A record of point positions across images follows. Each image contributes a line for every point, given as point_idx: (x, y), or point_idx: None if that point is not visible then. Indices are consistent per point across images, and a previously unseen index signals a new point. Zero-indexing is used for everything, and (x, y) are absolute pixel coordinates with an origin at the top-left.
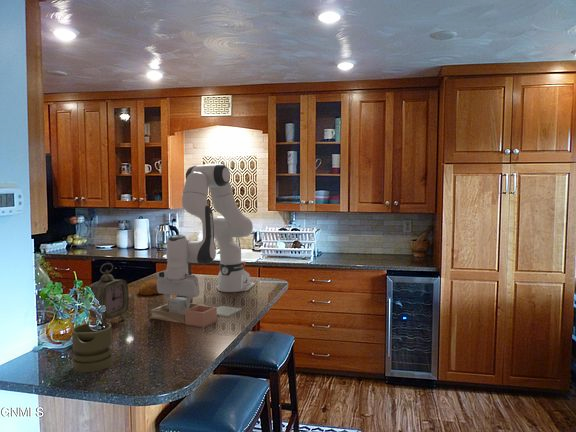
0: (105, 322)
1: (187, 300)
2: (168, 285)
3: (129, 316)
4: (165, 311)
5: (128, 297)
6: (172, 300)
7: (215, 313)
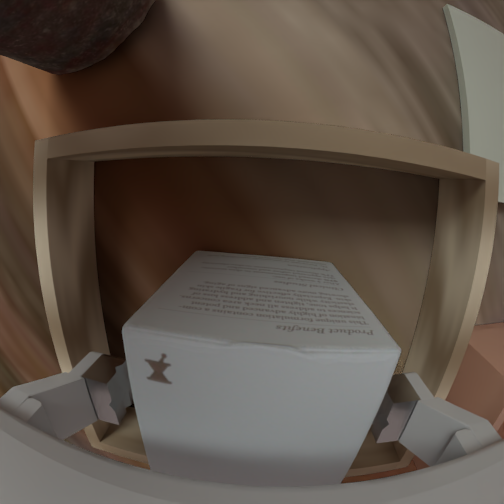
0: None
1: (430, 460)
2: None
3: (17, 385)
4: (92, 299)
5: None
6: None
7: None
